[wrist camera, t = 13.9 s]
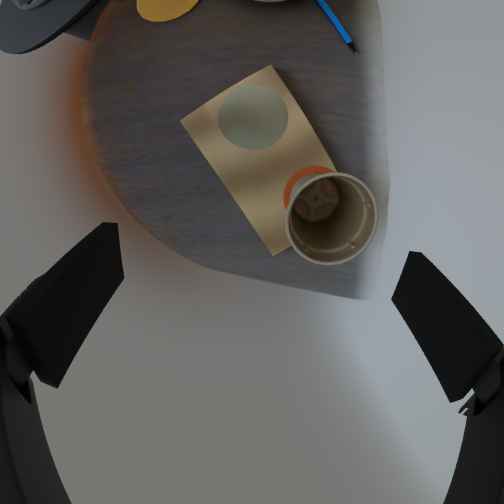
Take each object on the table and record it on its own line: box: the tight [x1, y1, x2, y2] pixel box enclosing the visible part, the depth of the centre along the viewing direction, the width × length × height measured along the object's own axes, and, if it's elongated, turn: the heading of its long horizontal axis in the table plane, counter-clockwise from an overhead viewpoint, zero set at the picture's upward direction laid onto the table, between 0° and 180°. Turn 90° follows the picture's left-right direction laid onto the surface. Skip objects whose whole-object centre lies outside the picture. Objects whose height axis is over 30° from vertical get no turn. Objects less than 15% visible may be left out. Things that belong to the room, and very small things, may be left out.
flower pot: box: [285, 172, 378, 265], centre depth 29 cm, size 9×9×9 cm
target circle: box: [283, 166, 334, 215], centre depth 33 cm, size 8×8×1 cm
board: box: [180, 65, 337, 256], centre depth 32 cm, size 21×13×2 cm, turn 32°
